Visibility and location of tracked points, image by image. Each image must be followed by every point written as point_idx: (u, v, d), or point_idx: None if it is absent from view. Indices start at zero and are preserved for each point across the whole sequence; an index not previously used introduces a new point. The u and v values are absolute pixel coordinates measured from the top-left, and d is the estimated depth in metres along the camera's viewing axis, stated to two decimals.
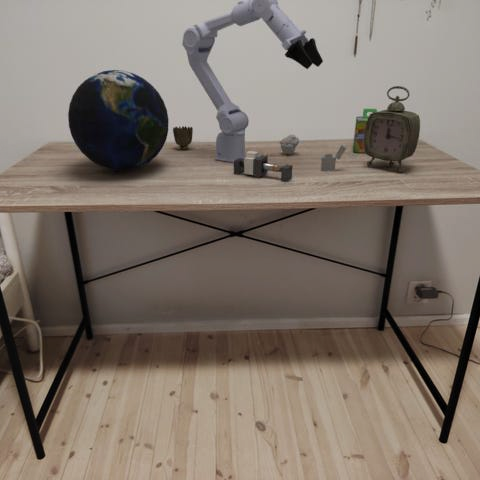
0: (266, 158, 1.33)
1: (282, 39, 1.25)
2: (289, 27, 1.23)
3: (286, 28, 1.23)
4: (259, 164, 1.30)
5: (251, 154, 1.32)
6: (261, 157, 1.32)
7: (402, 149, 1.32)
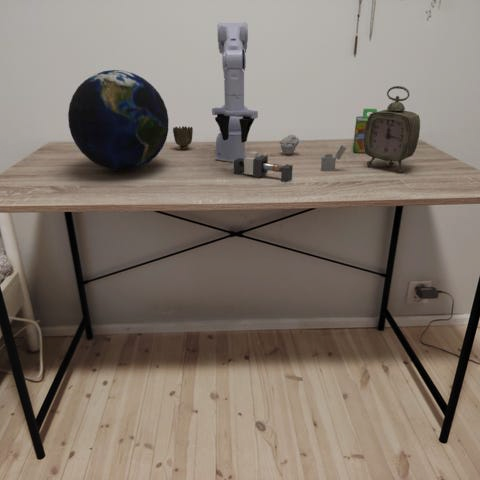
0: (266, 158, 1.33)
1: None
2: (225, 99, 1.28)
3: None
4: (259, 164, 1.30)
5: (251, 154, 1.32)
6: (261, 157, 1.32)
7: (402, 149, 1.32)
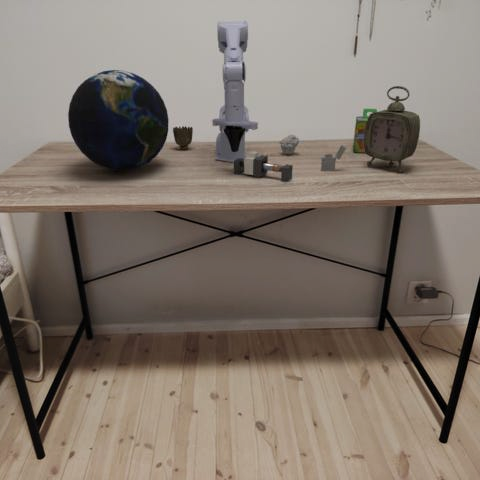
0: (266, 158, 1.33)
1: None
2: (225, 110, 1.29)
3: (224, 109, 1.30)
4: (259, 164, 1.30)
5: (251, 154, 1.32)
6: (261, 157, 1.32)
7: (402, 149, 1.32)
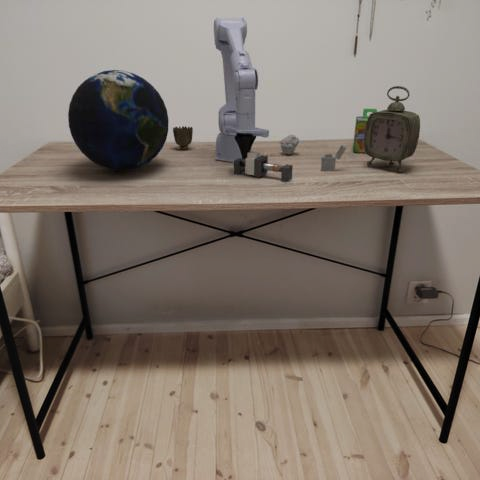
0: (266, 158, 1.33)
1: None
2: (236, 118, 1.28)
3: (235, 116, 1.29)
4: (259, 164, 1.30)
5: (252, 154, 1.31)
6: (261, 157, 1.32)
7: (402, 149, 1.32)
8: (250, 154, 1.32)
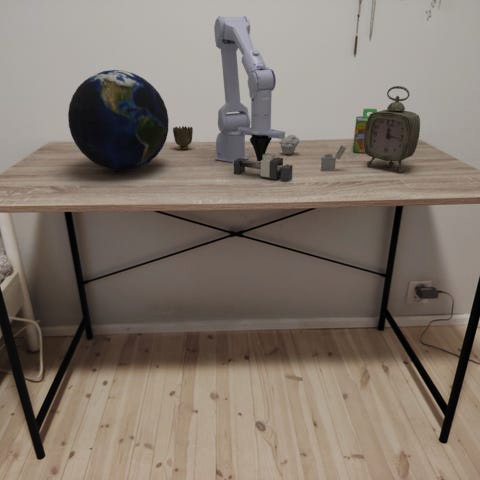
0: (281, 160, 1.31)
1: None
2: (251, 119, 1.26)
3: (251, 118, 1.27)
4: (275, 167, 1.28)
5: (268, 156, 1.29)
6: (276, 159, 1.30)
7: (402, 149, 1.32)
8: (265, 156, 1.30)
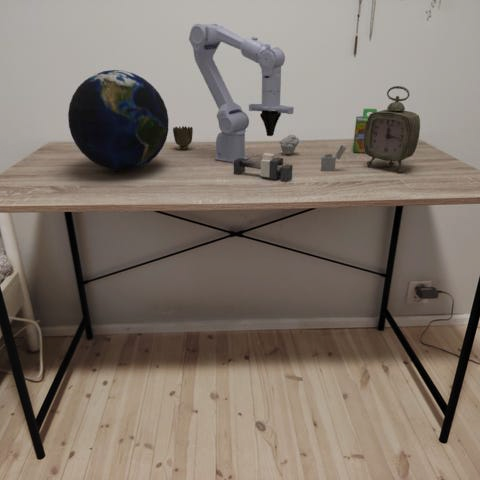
0: (281, 160, 1.31)
1: None
2: (262, 95, 1.34)
3: None
4: (275, 167, 1.28)
5: (268, 156, 1.29)
6: (276, 159, 1.30)
7: (402, 149, 1.32)
8: (265, 156, 1.30)
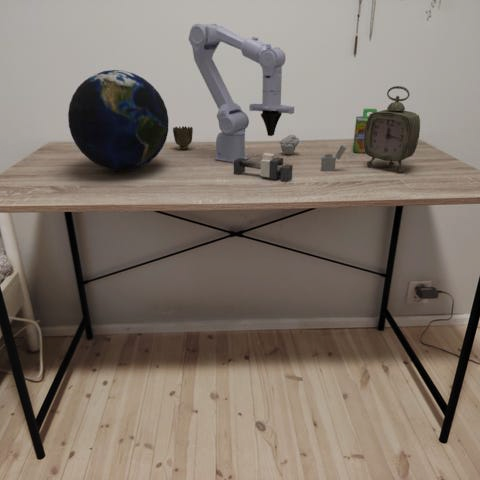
0: (281, 160, 1.31)
1: None
2: (263, 95, 1.35)
3: None
4: (275, 167, 1.28)
5: (268, 156, 1.29)
6: (276, 159, 1.30)
7: (402, 149, 1.32)
8: (265, 156, 1.30)
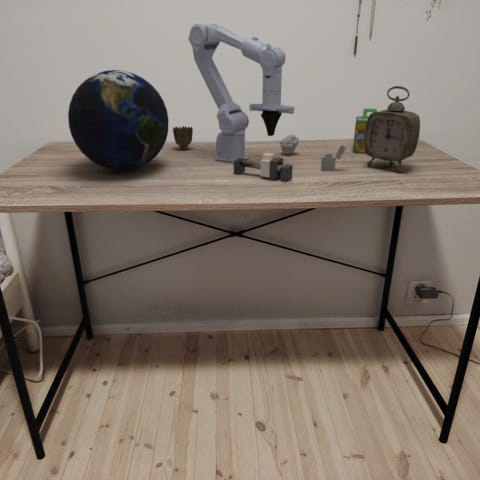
0: (281, 160, 1.31)
1: None
2: (263, 95, 1.35)
3: None
4: (275, 167, 1.28)
5: (268, 156, 1.29)
6: (276, 159, 1.30)
7: (402, 149, 1.32)
8: (265, 156, 1.30)
